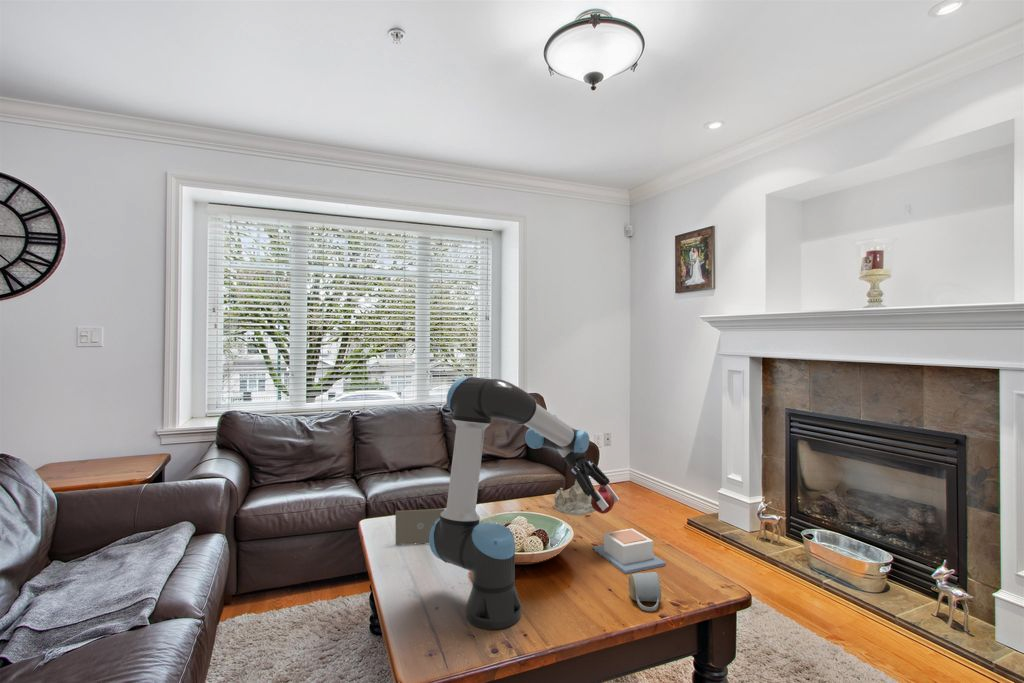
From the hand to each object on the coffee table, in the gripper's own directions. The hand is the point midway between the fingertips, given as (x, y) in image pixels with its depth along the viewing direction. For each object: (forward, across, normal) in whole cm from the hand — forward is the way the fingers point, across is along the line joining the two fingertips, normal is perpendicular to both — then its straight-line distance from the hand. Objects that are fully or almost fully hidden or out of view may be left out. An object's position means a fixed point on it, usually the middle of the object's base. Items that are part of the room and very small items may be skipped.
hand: (611, 505), depth 174 cm
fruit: (0, 0, -5) cm, 5 cm away
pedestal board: (+16, -2, -9) cm, 19 cm away
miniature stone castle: (-10, -34, -37) cm, 51 cm away
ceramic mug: (+28, +22, +3) cm, 36 cm away
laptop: (-32, +29, -59) cm, 73 cm away
